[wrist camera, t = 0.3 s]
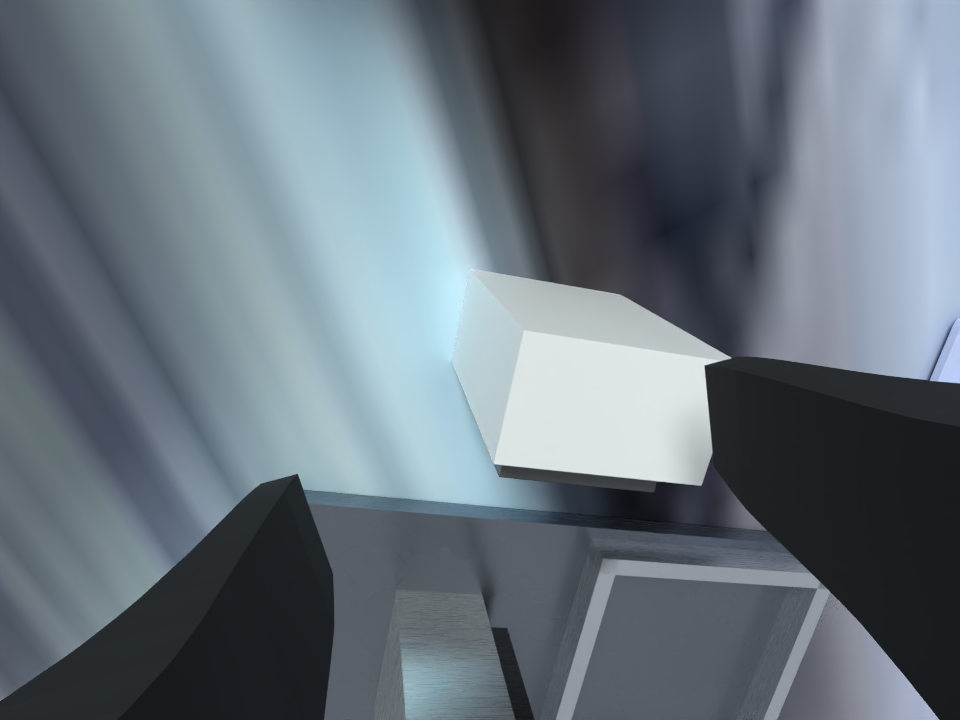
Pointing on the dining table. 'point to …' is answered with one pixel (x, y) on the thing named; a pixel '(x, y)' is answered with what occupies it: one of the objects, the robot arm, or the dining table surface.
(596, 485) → the white matte cuboid
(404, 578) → the grey hollow box
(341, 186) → the dining table surface
